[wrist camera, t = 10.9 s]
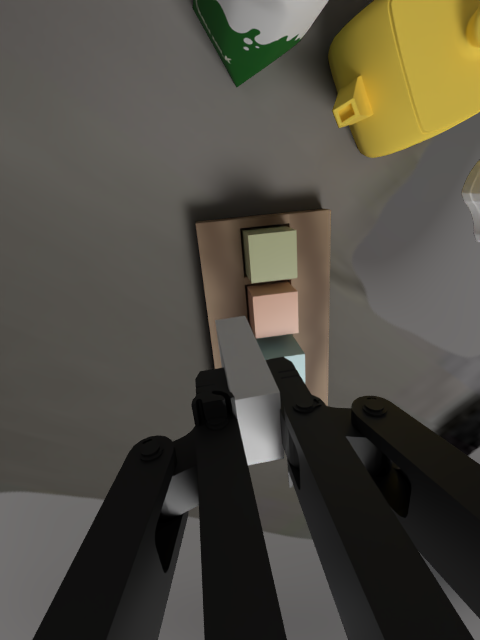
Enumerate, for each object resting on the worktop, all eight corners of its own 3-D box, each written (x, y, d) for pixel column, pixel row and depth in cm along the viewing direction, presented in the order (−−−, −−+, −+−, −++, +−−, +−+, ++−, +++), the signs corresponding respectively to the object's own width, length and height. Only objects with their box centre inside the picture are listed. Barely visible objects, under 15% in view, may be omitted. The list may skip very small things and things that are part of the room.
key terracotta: (248, 321, 39) (255, 338, 34) (245, 283, 37) (252, 296, 33) (286, 316, 39) (298, 332, 35) (285, 279, 38) (297, 291, 33)
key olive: (244, 271, 37) (251, 283, 32) (241, 229, 35) (247, 235, 30) (285, 267, 37) (297, 277, 32) (283, 225, 35) (296, 230, 31)
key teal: (255, 373, 39) (263, 398, 35) (252, 339, 38) (260, 360, 33) (292, 368, 40) (305, 392, 35) (291, 334, 38) (304, 354, 33)
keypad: (221, 412, 45) (222, 424, 42) (195, 221, 35) (195, 223, 33) (321, 397, 46) (327, 408, 43) (322, 208, 36) (330, 209, 34)
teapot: (324, 190, 36) (380, 190, 25) (275, 67, 31) (317, 0, 20) (496, 91, 34) (635, 45, 23) (471, -54, 30) (631, -197, 19)
